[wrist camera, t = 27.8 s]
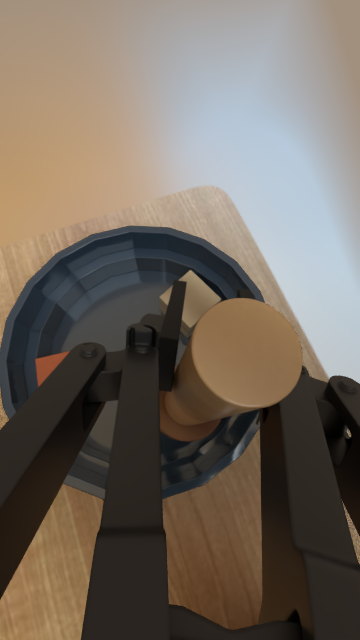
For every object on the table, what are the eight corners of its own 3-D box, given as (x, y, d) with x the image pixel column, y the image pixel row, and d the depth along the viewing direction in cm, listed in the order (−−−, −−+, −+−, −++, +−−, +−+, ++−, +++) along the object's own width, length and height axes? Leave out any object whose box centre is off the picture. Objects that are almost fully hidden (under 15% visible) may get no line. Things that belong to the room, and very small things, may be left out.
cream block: (187, 286, 27) (190, 269, 24) (215, 312, 27) (221, 298, 23) (160, 310, 26) (158, 296, 23) (187, 338, 26) (190, 328, 22)
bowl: (215, 239, 29) (226, 203, 24) (288, 437, 24) (321, 445, 19) (19, 287, 27) (-16, 258, 22) (54, 514, 22) (19, 548, 17)
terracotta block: (94, 355, 25) (83, 347, 22) (101, 396, 24) (90, 395, 21) (52, 365, 25) (34, 358, 21) (58, 407, 24) (40, 407, 20)
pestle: (175, 360, 23) (222, 240, 9) (227, 398, 22) (364, 334, 8) (136, 412, 21) (115, 364, 7) (190, 455, 20) (283, 496, 6)
